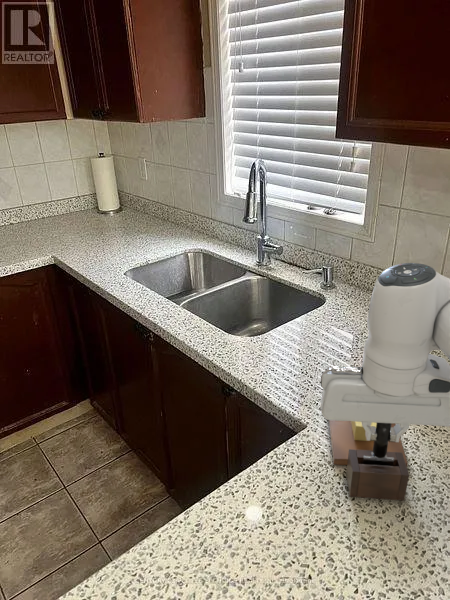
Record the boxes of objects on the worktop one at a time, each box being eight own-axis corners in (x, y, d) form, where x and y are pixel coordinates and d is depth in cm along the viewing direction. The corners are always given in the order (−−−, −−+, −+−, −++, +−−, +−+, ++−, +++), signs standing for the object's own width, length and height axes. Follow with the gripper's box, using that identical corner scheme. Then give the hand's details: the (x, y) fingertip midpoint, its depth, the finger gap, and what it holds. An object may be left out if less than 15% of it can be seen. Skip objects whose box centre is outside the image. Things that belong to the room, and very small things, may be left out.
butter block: (373, 420, 91) (375, 406, 89) (378, 441, 85) (380, 427, 84) (350, 419, 91) (351, 405, 90) (354, 440, 86) (356, 426, 84)
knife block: (397, 477, 80) (402, 452, 77) (404, 500, 75) (409, 475, 73) (346, 473, 81) (348, 448, 78) (349, 496, 76) (352, 471, 74)
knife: (387, 482, 79) (399, 414, 72) (390, 493, 77) (402, 423, 70) (358, 480, 79) (367, 412, 72) (360, 490, 77) (369, 421, 70)
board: (387, 404, 97) (387, 399, 96) (406, 469, 81) (407, 463, 80) (326, 401, 99) (326, 396, 98) (333, 464, 83) (334, 458, 82)
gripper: (323, 378, 65) (318, 449, 72) (471, 384, 63) (453, 457, 69) (320, 354, 71) (316, 422, 77) (456, 359, 68) (440, 428, 75)
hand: (381, 438), depth 73 cm, fingers closed on knife, 2 cm apart
